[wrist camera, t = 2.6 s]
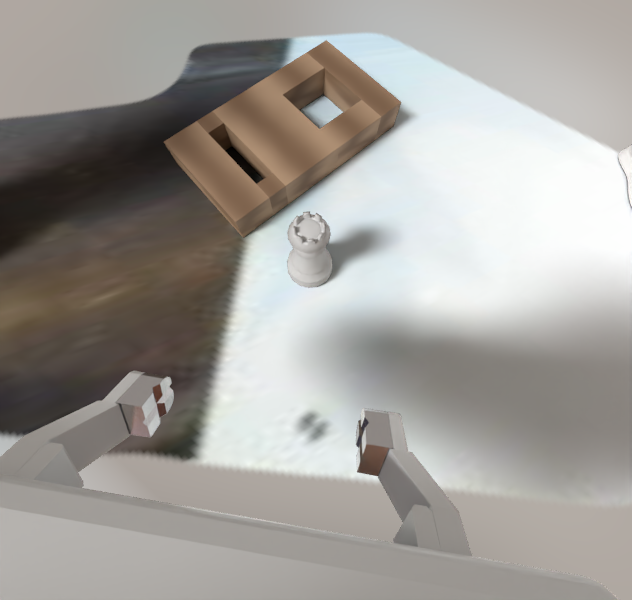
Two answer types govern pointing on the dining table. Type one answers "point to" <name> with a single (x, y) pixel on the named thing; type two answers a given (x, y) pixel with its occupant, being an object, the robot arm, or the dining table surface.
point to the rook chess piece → (309, 250)
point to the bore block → (283, 135)
